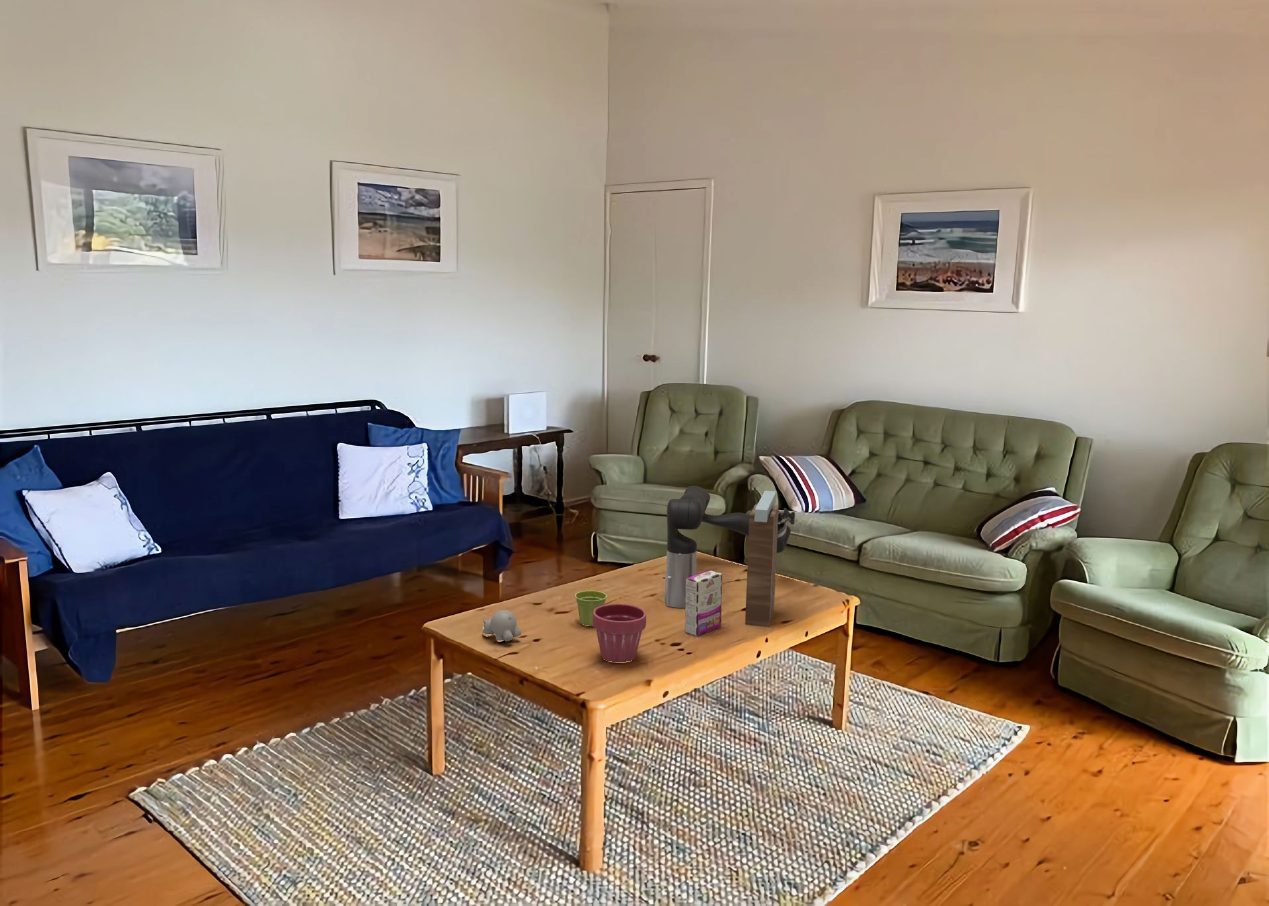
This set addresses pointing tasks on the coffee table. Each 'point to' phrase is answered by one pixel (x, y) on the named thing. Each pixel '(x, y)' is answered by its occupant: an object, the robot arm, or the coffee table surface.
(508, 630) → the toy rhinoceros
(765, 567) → the post
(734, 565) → the coffee table surface
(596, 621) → the plant pot
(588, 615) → the plant pot
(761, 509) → the rail
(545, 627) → the coffee table surface
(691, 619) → the candy bar box
